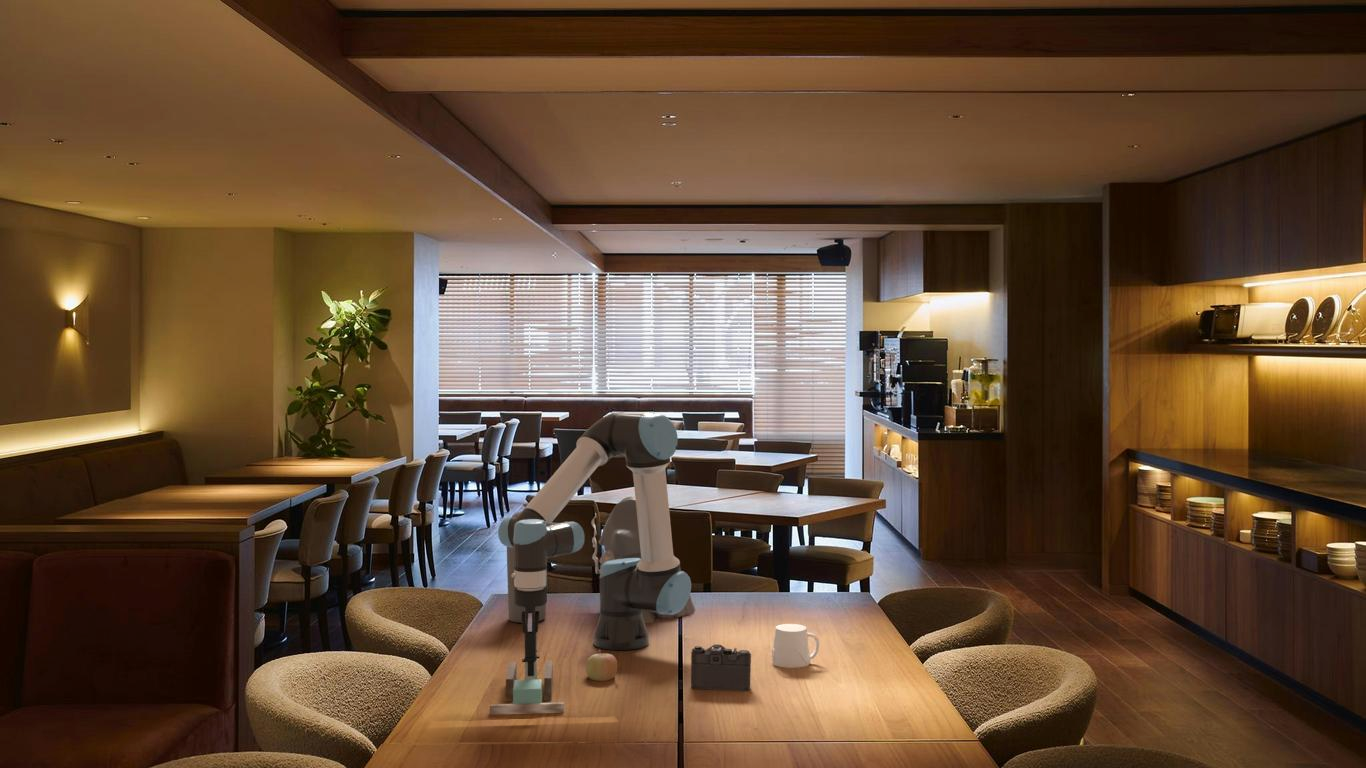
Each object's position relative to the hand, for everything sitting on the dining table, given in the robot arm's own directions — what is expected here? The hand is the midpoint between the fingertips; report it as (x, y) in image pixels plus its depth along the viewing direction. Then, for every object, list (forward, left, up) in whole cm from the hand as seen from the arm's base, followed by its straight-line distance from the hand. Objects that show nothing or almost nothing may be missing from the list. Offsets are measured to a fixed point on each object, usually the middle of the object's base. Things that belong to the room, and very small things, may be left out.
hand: (531, 688), depth 249 cm
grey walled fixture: (0, +3, -2) cm, 3 cm away
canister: (+4, -73, -2) cm, 73 cm away
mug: (-67, -21, -2) cm, 70 cm away
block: (0, +10, -1) cm, 10 cm away
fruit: (-17, -10, -2) cm, 20 cm away
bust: (-30, -83, -2) cm, 88 cm away
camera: (-45, -6, -2) cm, 46 cm away
